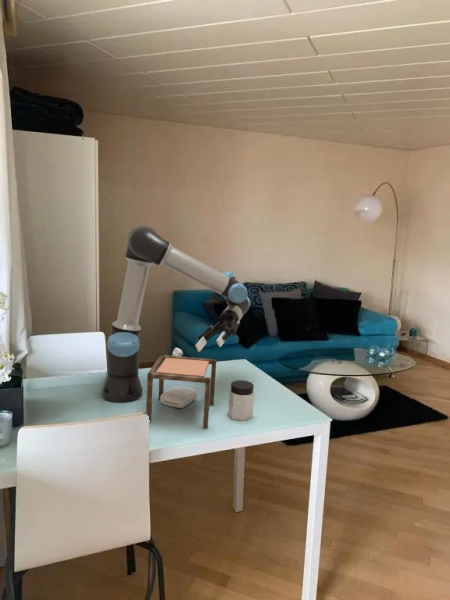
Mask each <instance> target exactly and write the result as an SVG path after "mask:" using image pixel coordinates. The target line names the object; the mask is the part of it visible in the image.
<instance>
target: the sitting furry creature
mask: <svg viewBox="0 0 450 600" xmlns="http://www.w3.org/2000/svg"><path fill="white" fill-rule="evenodd" d="M183 355H184V352H183V350H182V349H180V348H179V347H175V348H174V349H173V351H172V354H171V356H179V357H183Z"/></svg>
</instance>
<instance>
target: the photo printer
mask: <svg viewBox="0 0 450 600" xmlns="http://www.w3.org/2000/svg"><path fill="white" fill-rule="evenodd" d="M197 398H198V391H197V390H196V389H193V388H191V387H185V386H181V385H174V386H172V387H170V389H167V390H166V391H163V394H162V395H161V397H160V400H159V402H160V403H162V404H163V405H165V406H167V407H168V406H169V407H171V408H177V409H183V408H186V406H188V405H190V404H191V403H193V402H194V401H196V399H197Z"/></svg>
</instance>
